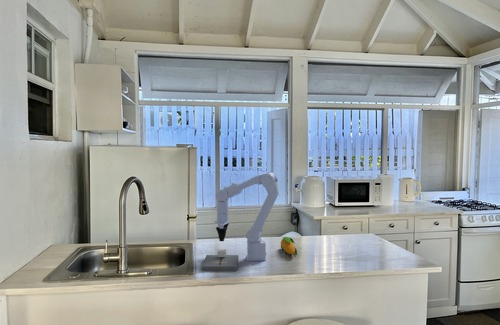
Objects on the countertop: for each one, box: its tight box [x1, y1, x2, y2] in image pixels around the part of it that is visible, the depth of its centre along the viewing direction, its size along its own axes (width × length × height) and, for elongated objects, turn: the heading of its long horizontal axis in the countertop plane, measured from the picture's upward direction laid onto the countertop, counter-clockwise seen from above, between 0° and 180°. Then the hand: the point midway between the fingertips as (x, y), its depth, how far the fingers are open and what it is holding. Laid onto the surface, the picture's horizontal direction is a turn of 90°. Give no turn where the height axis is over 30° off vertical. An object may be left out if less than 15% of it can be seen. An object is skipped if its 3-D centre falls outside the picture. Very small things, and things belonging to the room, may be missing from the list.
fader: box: [217, 248, 227, 257], centre depth 165 cm, size 4×2×3 cm, turn 89°
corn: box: [280, 236, 298, 256], centre depth 178 cm, size 7×8×20 cm
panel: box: [201, 254, 240, 272], centre depth 160 cm, size 16×16×2 cm
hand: (222, 239), depth 173 cm, fingers open, 7 cm apart
